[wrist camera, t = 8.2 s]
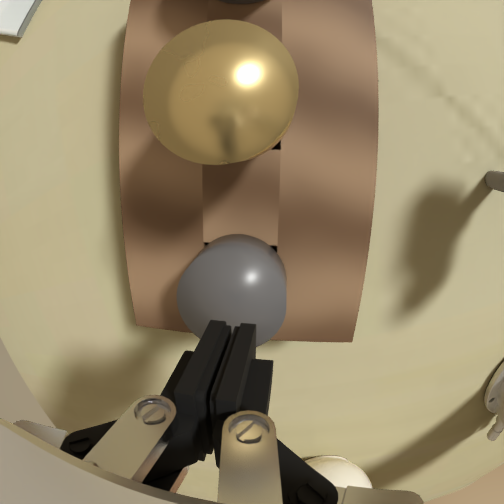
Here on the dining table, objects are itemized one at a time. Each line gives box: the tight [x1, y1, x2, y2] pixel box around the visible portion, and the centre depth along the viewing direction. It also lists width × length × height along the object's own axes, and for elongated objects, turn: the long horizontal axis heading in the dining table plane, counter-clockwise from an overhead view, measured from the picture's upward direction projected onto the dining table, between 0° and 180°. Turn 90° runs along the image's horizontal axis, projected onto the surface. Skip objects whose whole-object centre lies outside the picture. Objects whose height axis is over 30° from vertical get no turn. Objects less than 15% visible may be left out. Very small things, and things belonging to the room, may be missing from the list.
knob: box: [177, 234, 287, 347], centre depth 18 cm, size 5×5×8 cm
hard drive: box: [0, 0, 42, 38], centre depth 16 cm, size 2×8×12 cm
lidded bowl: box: [305, 455, 373, 488], centre depth 26 cm, size 13×13×11 cm
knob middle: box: [143, 19, 299, 165], centre depth 12 cm, size 5×5×8 cm
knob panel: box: [119, 0, 378, 342], centre depth 17 cm, size 26×14×6 cm, turn 179°
